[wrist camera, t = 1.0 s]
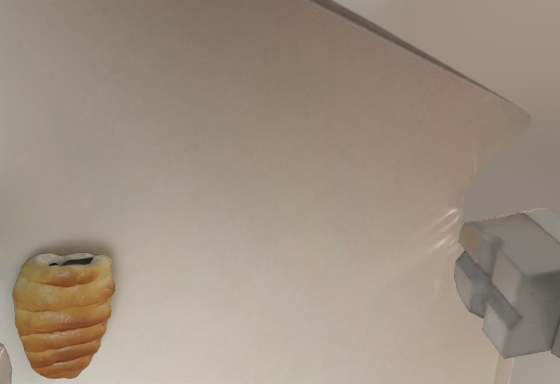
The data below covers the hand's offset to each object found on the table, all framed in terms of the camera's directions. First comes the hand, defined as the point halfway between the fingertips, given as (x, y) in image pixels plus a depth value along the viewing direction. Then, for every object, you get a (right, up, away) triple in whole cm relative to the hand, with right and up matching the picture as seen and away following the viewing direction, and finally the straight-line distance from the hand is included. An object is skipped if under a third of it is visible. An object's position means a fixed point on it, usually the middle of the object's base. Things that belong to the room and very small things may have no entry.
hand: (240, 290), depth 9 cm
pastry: (-16, -7, +29) cm, 34 cm away
